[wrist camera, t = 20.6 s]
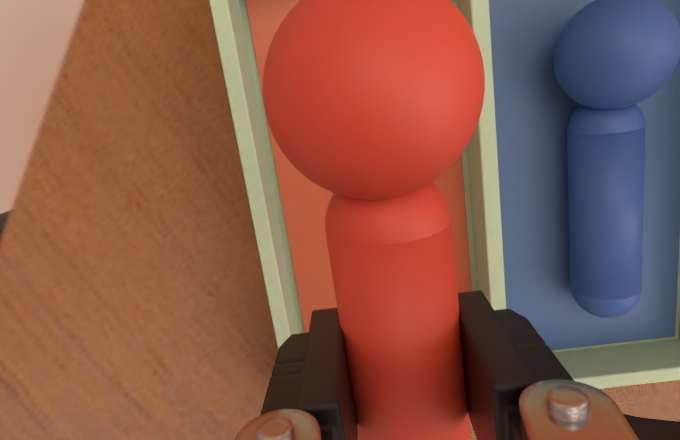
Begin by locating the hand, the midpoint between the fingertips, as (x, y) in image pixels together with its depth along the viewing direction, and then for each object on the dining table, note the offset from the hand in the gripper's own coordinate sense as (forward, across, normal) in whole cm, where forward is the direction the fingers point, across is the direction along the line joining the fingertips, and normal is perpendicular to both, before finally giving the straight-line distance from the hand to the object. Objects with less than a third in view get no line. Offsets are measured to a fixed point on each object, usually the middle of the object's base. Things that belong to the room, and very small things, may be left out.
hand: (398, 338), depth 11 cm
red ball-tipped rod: (0, 0, -2) cm, 3 cm away
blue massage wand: (+9, -8, -2) cm, 12 cm away
